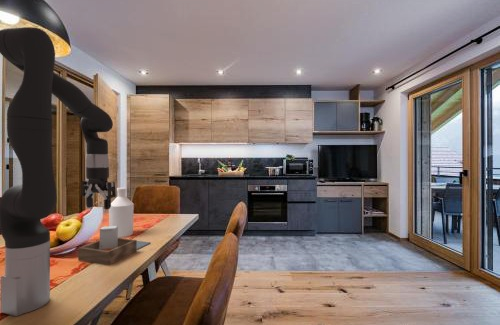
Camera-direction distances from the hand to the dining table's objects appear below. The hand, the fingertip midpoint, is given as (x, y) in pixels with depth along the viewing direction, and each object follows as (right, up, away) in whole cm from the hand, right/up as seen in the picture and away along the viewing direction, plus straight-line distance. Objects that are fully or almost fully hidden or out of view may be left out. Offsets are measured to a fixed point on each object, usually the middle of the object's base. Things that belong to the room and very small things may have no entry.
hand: (98, 208), depth 95 cm
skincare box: (-1, -22, +9) cm, 23 cm away
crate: (-1, -22, +9) cm, 23 cm away
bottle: (-11, -21, +38) cm, 45 cm away
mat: (+5, -22, +21) cm, 31 cm away
